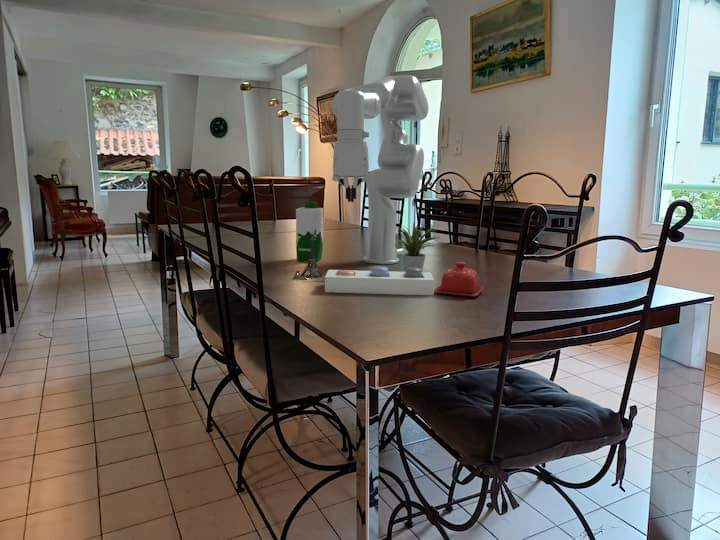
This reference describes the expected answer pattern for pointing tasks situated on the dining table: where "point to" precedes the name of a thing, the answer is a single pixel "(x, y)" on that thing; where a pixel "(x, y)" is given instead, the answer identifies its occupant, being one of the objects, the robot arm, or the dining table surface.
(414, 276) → the charcoal button
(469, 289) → the butter dish
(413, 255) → the house plant
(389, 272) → the white button panel
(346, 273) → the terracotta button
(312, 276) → the eiffel tower figurine
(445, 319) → the dining table surface
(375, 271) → the slate blue button
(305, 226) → the milk carton
